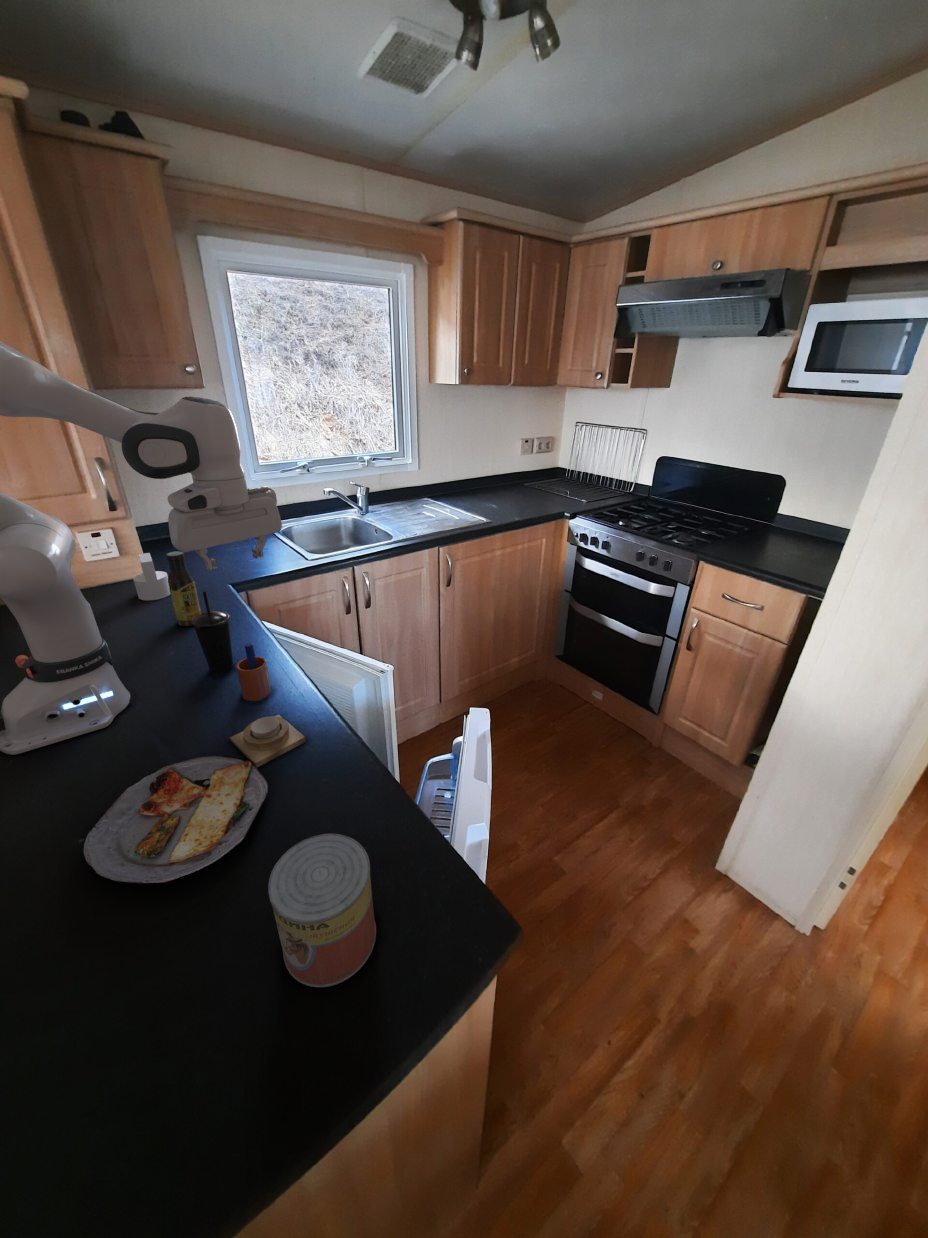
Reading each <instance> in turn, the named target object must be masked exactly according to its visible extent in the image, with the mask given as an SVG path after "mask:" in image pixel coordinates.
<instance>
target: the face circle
mask: <svg viewBox="0 0 928 1238" xmlns="http://www.w3.org/2000/svg"><path fill="white" fill-rule="evenodd" d="M254 721H255V722H254ZM254 721H252V722H253V724H252V725H251V732H252V736H253V737H254V738H255V739H260V740H262V739H268V738H271V737H273V736H275V735H277V734H278V733H279V731H280V723H279V720H278V719H277V718H275V717H271V716H264V717H260V718H257V719H256V720H254Z"/></svg>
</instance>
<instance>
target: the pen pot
mask: <svg viewBox="0 0 928 1238" xmlns="http://www.w3.org/2000/svg"><path fill="white" fill-rule="evenodd" d="M255 658H256V663H257V668H256V669H252V670H249V665H248V660H247V657H246V658H243V659H241V660H239V661H238V662H237V663H236V670H237V671H236V672H237V675H238V682H239V686H240V691H241V694H242V698H243V699H244V700H246V701H250V702H255V701H256V702H257V701H260V700H263V699H265V698H266V699H267V697H269V696H270V695H271V693H272V686H271V680H270V675H269V671H268V670H269V669H268V664H267V659H265V658H264V657H262V656H255Z"/></svg>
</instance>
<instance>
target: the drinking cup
mask: <svg viewBox="0 0 928 1238" xmlns="http://www.w3.org/2000/svg"><path fill="white" fill-rule="evenodd" d="M202 597H203V600H204V604H205V609H206V611H205V612H203V613H202V612H201V614H200V615H198V616H196V617H194V618H193V619H192V621H191V623H192V625H191V626H192V627H193V628H194V631H195V633H196V636H197V638H198V642H199V644H200V646H201V647H200V648H201V649H202V653H203V655H204V658H205V660H206V664H207V666H208V668H209V670H210V673H211V674H212V675H215V676H216V675H224V674H228V673H230V672H231V671H232V670H233V669H234V659H233V650H232V642H231V641H232V640H231V639H232V638H231V632H230V631H231V630H230V614H229V613H228V612H226V611H220V610H211V607H210V603H209V598H208V594H207V591H203V592H202Z"/></svg>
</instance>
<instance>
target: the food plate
mask: <svg viewBox="0 0 928 1238" xmlns="http://www.w3.org/2000/svg"><path fill="white" fill-rule="evenodd" d="M208 779H209V780H208ZM203 780H205V781H204V782H203V784H202V785H199V784H197V783H196V782H195V781H203ZM203 785H204V786H203ZM207 785H209V786H207ZM268 791H269V783H268V781H267V779H266V777H264V775H263V774H262V773H261V772H260V771H259V769H258V767H255V766H254V765H253V763H252V762H251V761H250V760H243V759H240V758H235V757H231V756H230V757H228V756H222V755H208V756H199V757H195V758H194V757H193V758H191V759H190V758H189V759H186V760H183V761H179V762H175V763H171V764H169V765H168V764H167V765H165V766H163V767H161V768H160V769H157V770H156V771H154V772H153V773H151V774H149V775H146V776H144V777H143V778H141V779H140V780H139V781H138V782H136V783H134V784H133V785H131V786H129V787H128V788H126V789H125V790H124V791H123V792H122V793H121V795H119V796H118V798H117V799H116V800H115V801H114V802H113V803H112V805H111V806H110V807H109V808H108V809H107V810H106V812H105V813H104V814H103V815H102V817H100V818H99V819H98V821H97V823H96V824H95V826H93V827H92V828H91V830H90V831H89V832H88V833H87V836H86V838H85V840H84V843H83V856H84V858H85V862H87V864H88V866H91V868H92V869H93V870H94V871H95V874H98V875H99V876H100V877H104V878H106V879H109V880H111V881H114V882H120V883H121V882H123V883H130V884H132V883H135V884H137V883H138V884H154V883H155V884H159V883H160V884H161V883H168V882H170V881H173V880H176V879H179V878H180V877H186V876H187V875H189V874H193V873H195V872H196V871H197V872H198V871H200V870H202V869H203V868H206V867H208V866H210V865H211V864H213V863H214V862H216V861H218V860H220V859H221V858H222V857H224V856H225V855H226V854H228V853H229V852H231V850H234V848H235V847H236V846H237V845H238V844H240V843H242V841H243V840H244V838H245V836H246V835H247V833H248V831H249V829H250V828H251V825H253V822H254V821H255V819H256V817H257V814H258V813H259V810H260V809H261V807H262V805H263V803H264V801H265V799H266V797H267V795H268Z"/></svg>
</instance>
